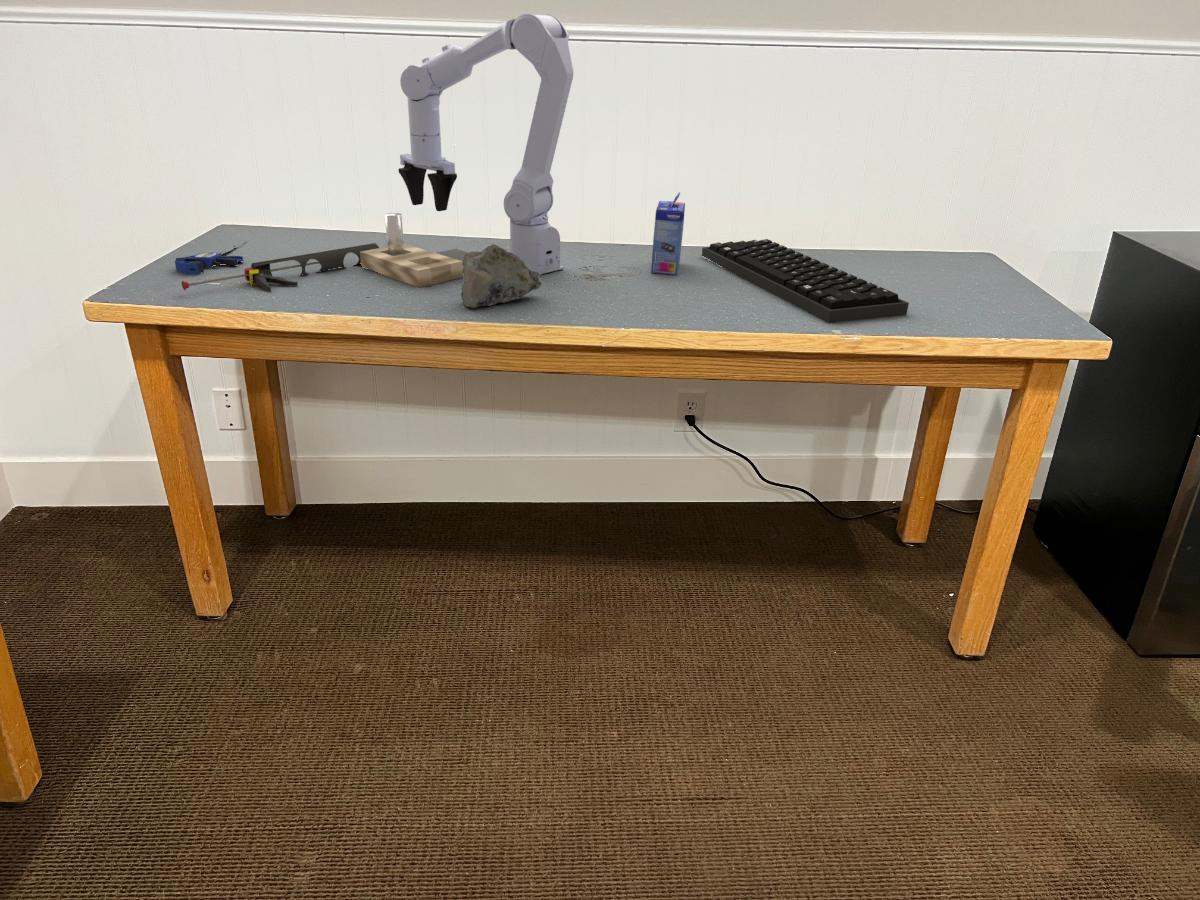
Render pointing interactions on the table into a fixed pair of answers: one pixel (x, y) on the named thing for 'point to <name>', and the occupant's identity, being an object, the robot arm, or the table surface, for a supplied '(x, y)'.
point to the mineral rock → (495, 277)
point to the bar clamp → (204, 262)
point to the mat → (454, 254)
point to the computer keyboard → (806, 281)
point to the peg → (394, 234)
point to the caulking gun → (262, 271)
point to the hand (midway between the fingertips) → (429, 207)
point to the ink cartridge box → (668, 237)
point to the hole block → (413, 265)
